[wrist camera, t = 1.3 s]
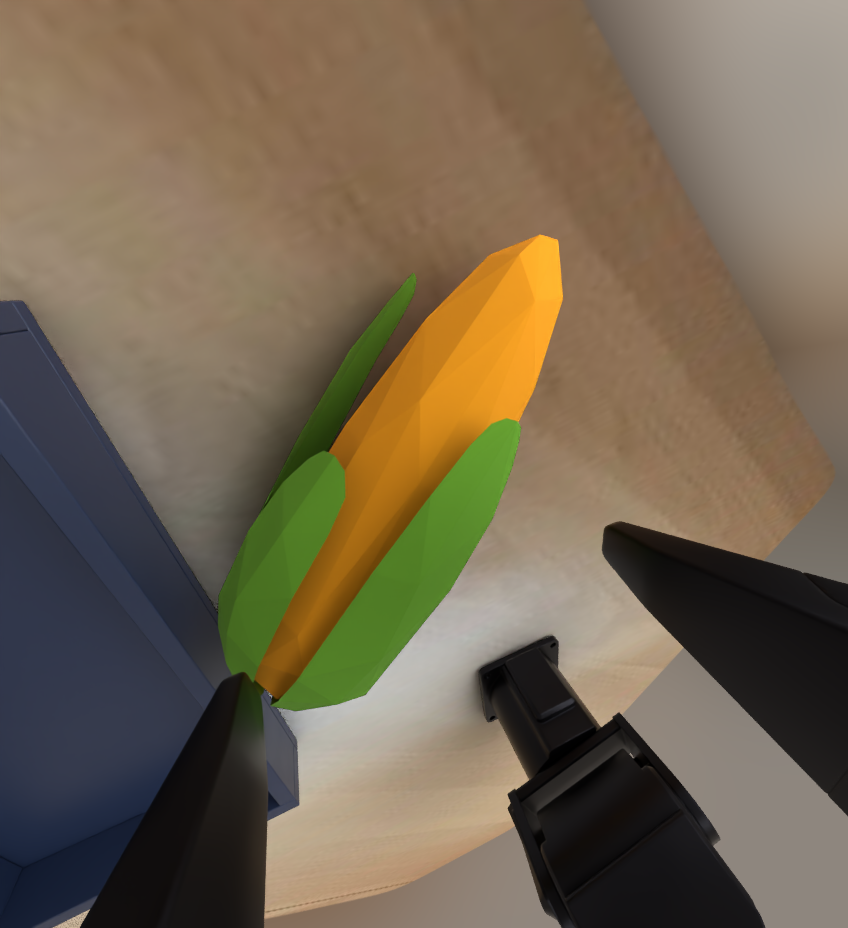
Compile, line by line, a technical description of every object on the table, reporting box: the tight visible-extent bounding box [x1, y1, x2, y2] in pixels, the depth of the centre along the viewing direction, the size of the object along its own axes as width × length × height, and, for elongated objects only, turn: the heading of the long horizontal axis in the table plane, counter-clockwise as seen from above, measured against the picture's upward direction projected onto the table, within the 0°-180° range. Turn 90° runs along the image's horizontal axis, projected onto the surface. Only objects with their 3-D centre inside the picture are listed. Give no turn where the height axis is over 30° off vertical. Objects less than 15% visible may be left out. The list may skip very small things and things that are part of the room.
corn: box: [218, 235, 563, 711], centre depth 13 cm, size 7×8×20 cm
